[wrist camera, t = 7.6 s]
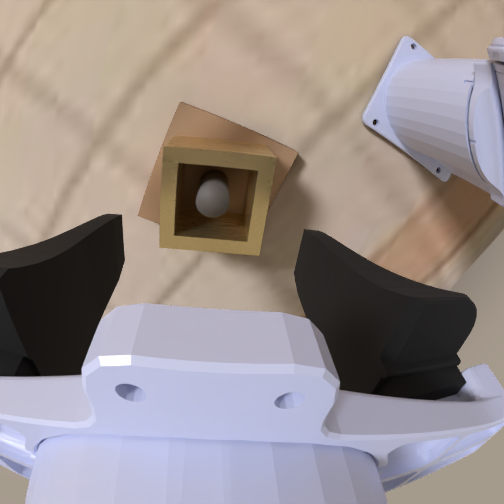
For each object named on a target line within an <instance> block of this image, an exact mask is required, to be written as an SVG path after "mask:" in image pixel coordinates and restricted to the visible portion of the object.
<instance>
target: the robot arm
mask: <svg viewBox="0 0 504 504" xmlns="http://www.w3.org/2000/svg"><path fill="white" fill-rule="evenodd" d="M411 44H412V45H413V46H414V49H412V48H411ZM487 51H488V55H489V58H490V59H491V60H486V59H435V58H434V57H433V56H432V55H430V54H429V53H428V52H427V51H426V50H425V49H424V48H422V47H421V46H420V45H419V44H418V43H417V42H415V41H414V40H413V39H412V38H410V37H408V36H405V37H402V38H401V40H400V42H399V44H398V46H397V48H396V50H395V52H394V54H393V56H392V58H391V60H390V62H389V64H388V66H387V68H386V70H385V72H384V74H383V76H382V78H381V80H380V82H379V84H378V86H377V88H376V90H375V92H374V94H373V96H372V98H371V100H370V102H369V104H368V105H367V107H366V109H365V111H364V113H363V115H362V121H363V123H364V124H365V125H367V126H368V127H370V128H371V129H373V130H374V131H376V132H377V133H379V134H380V135H382V136H383V137H384V138H386V139H387V140H389V141H390V142H392V143H393V144H394V145H396V146H397V147H399V148H400V149H401V150H403V151H404V152H405V153H407V154H408V155H409V156H411V157H412V158H413V159H415V160H416V161H417V162H419V163H420V164H421V165H422V166H424V167H425V168H426V169H428V170H429V171H430V172H431V173H432V174H434V175H435V176H436V177H437V178H439V179H440V180H441V181H443V182H446V181H448V179H449V177H450V176H451V174H454V175H456V176H458V177H460V178H462V179H464V180H466V181H468V182H469V183H471V184H473V185H475V186H477V187H479V188H480V189H482V190H484V191H486V192H488V193H489V194H491V200H493V201H495V202H496V203H498V204H499V205H501V206H503V207H504V37H495V38H494V39H493V41H492V43H491V45H490V46H488V47H487ZM374 119H375V120H376V122H377V123H376V125H375V126H374V125H373V120H374ZM437 168H438V171H437V172H436V170H437ZM124 261H125V257H124V243H123V227H122V215H118V214H105V215H102V216H99V217H97V218H95V219H92V220H90V221H88V222H86V223H84V224H82V225H80V226H77V227H75V228H73V229H71V230H69V231H66V232H64V233H62V234H60V235H58V236H55V237H53V238H50V239H48V240H45V241H42V242H39V243H37V244H34V245H30V246H27V247H23V248H19V249H16V250H12V251H7V252H3V253H0V465H2V466H4V467H6V468H7V469H9V470H11V471H13V472H15V473H17V474H19V475H21V476H23V477H25V478H28V479H29V480H30V482H29V487H28V491H27V496H26V501H25V504H388V502H387V499H386V495H385V492H388V491H391V490H393V489H396V488H398V487H401V486H403V485H406V484H408V483H411V482H413V481H415V480H417V479H420V478H422V477H424V476H426V475H429V474H431V473H433V472H435V471H437V470H439V469H441V468H443V467H445V466H448V465H450V464H452V463H454V462H456V461H458V460H459V459H461V458H464V457H465V456H467V455H469V454H471V453H473V452H475V451H476V450H477V449H478V448H479V447H481V446H482V445H483V444H484V443H485V442H487V441H488V440H489V439H490V438H491V437H492V436H493V435H494V434H496V433H497V432H498V431H499V430H500V429H501V428H502V427H503V426H504V390H503V388H502V386H501V385H500V383H499V382H498V380H497V379H496V377H495V376H494V374H493V373H492V371H491V370H490V368H489V367H488V365H487V364H480V365H477V366H473V367H469V368H467V369H465V370H464V371H463V372H460V371H459V369H458V367H457V365H459V364H460V361H461V360H460V358H459V357H458V355H457V352H458V351H459V349H460V348H461V346H462V345H463V343H464V341H465V340H466V339H467V337H468V335H469V334H470V332H471V330H472V328H473V326H474V324H475V320H476V315H477V309H476V306H475V304H474V303H473V302H472V301H471V300H470V298H469V297H468V296H467V295H465V294H462V293H457V292H452V291H448V290H443V289H439V288H435V287H432V286H428V285H425V284H422V283H419V282H415V281H413V280H410V279H407V278H405V277H402V276H400V275H397V274H395V273H393V272H391V271H389V270H386V269H384V268H382V267H380V266H378V265H376V264H374V263H373V262H371V261H369V260H367V259H366V258H364V257H362V256H360V255H359V254H357V253H356V252H354V251H352V250H351V249H349V248H348V247H346V246H344V245H343V244H341V243H340V242H338V241H337V240H335V239H333V238H332V237H330V236H328V235H327V234H325V233H323V232H321V231H316V230H306V229H304V232H303V237H302V241H301V245H300V250H299V254H298V258H297V262H296V267H295V271H294V276H295V282H296V287H297V292H298V295H299V298H300V301H301V304H302V307H303V309H304V312H305V315H306V318H303V317H299V316H295V315H291V314H287V313H283V312H263V311H242V310H224V309H208V308H194V307H181V306H169V305H158V304H148V303H143V304H135V305H126V306H118V307H116V308H115V309H113V310H112V311H111V312H110V313H109V314H107V315H106V316H105V317H104V318H103V319H102V320H101V317H102V315H103V313H104V311H105V309H106V306H107V304H108V302H109V300H110V298H111V296H112V293H113V291H114V289H115V287H116V285H117V283H118V280H119V278H120V274H121V271H122V268H123V265H124Z"/></svg>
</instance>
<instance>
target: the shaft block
mask: <svg viewBox="0 0 504 504" xmlns="http://www.w3.org/2000/svg"><path fill="white" fill-rule="evenodd" d="M174 136H188V137H201V138H212V139H222V140H232V141H241V142H249V143H257V144H264V145H267V147H268V148H269V149H270V150H271V151H272V152H273V154H274V155H275V156H276V157H277V160H276V165H275V171H274V177H273V182H272V188H271V194H270V199H269V205H268V210H269V208H270V206H271V204H272V202H273V200H274V199H275V197H276V195H277V193H278V191H279V189H280V187H281V185H282V183H283V181H284V179H285V177H286V175H287V174H288V172H289V170H290V168H291V166H292V164H293V162H294V160H295V158H296V156H297V154H298V152H296V151H295V150H293V149H291V148H289V147H287V146H285V145H283V144H281V143H279V142H277V141H275V140H272V139H270V138H268V137H266V136H264V135H262V134H259V133H257V132H255V131H253V130H250V129H248V128H246V127H243V126H241V125H239V124H236V123H234V122H232V121H229V120H227V119H224V118H222V117H220V116H217V115H215V114H212V113H210V112H207V111H204V110H202V109H199V108H197V107H194V106H191V105H189V104H186V103H183V102H180V103H179V105H178V108H177V110H176V112H175V115H174V117H173V119H172V122H171V124H170V127H169V129H168V132H167V134H166V137H165V139H164V142H163V144H162V147H161V150H160V152H159V155H158V157H157V160H156V163H155V166H154V168H153V171H152V174H151V177H150V180H149V183H148V186H147V189H146V192H145V195H144V198H143V201H142V204H141V207H140V210H139V213H138V216H140V217H142V218H145V219H148V220H150V221H153V222H156V223H159V224H160V197H161V175H162V159H163V146H164V145H165V144H166V143H168V142H169V141H170V140H171V139H172V138H173V137H174ZM248 174H249V170H248V169H239V168H230V167H220V166H209V165H198V164H186V166H185V178H184V191H183V206H182V209H191V210H199V212H200V213H201V214H203V215H204V216H206V217H210V218H215V217H219V216H221V215H223V214H224V213H235V214H243V208H244V201H245V195H246V188H247V181H248ZM267 212H268V211H267Z"/></svg>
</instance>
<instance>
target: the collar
mask: <svg viewBox="0 0 504 504" xmlns="http://www.w3.org/2000/svg"><path fill="white" fill-rule="evenodd" d="M276 160H277V157H276V156H275V155H274V154H273V152H272V151H271V150H270V149H269V148H268V147H267V145H264V144H257V143H249V142H241V141H232V140H222V139H212V138H201V137H188V136H174V137H173V138H172V139H171V140H170V141H169V142H168V143H166V144H165V145H164V146H163V159H162V175H161V197H160V248H172V249H184V250H196V251H208V252H220V253H231V254H243V255H255V256H259V255H260V250H261V244H262V239H263V233H264V227H265V222H266V216H267V211H268V205H269V199H270V194H271V188H272V182H273V177H274V171H275V165H276ZM186 164H198V165H209V166H220V167H230V168H239V169H248V170H249V174H248V181H247V188H246V195H245V201H244V208H243V214H235V213H224V214H223V215H221V216H219V217H215V218H210V217H206V216H204V215H203V214H201V213H200V212H199V210H191V209H182V206H183V191H184V178H185V166H186Z"/></svg>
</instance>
